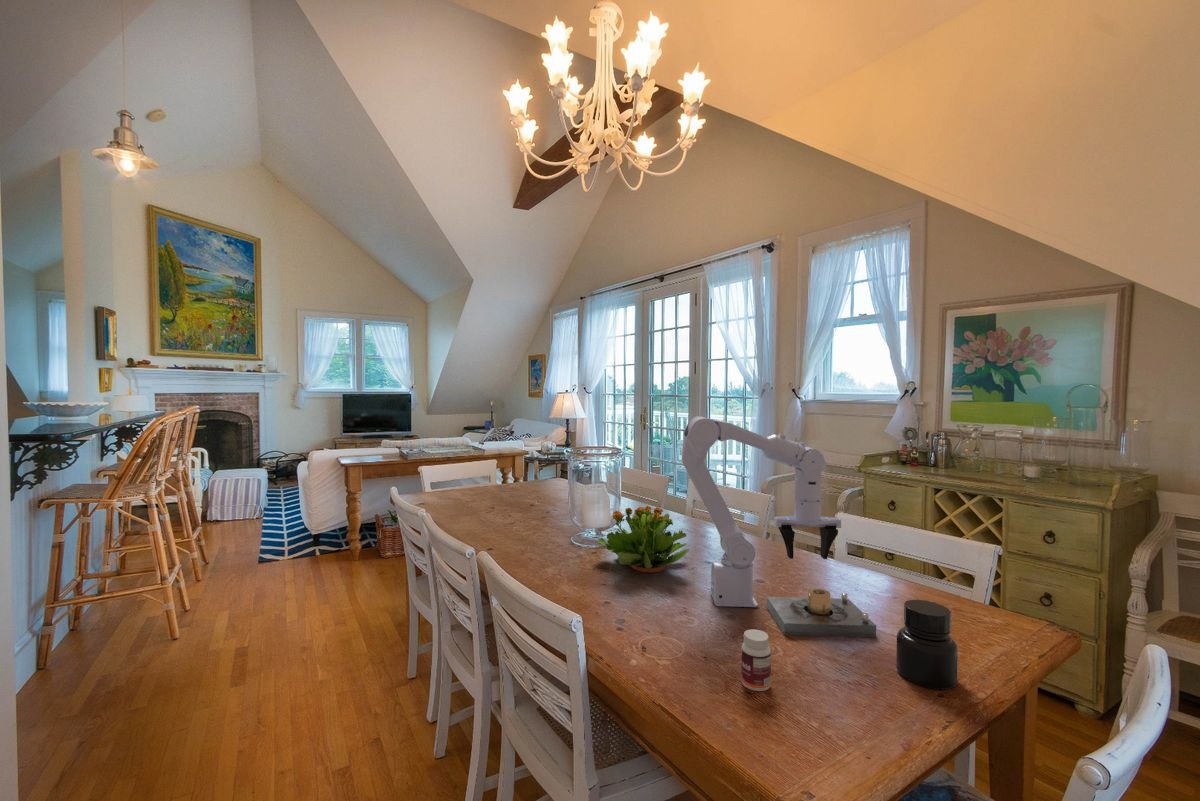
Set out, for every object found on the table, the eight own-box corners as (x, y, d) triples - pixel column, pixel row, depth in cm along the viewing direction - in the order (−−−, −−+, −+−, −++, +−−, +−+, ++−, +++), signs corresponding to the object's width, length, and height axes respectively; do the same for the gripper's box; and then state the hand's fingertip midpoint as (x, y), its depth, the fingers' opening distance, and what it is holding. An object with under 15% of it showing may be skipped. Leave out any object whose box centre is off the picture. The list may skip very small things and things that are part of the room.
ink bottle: (972, 686, 86) (973, 615, 85) (934, 697, 83) (936, 623, 82) (918, 657, 95) (919, 593, 94) (882, 666, 92) (883, 600, 91)
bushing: (810, 626, 107) (810, 595, 107) (805, 617, 111) (805, 587, 111) (832, 627, 106) (833, 596, 106) (826, 618, 111) (826, 588, 111)
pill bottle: (736, 676, 88) (737, 628, 88) (763, 675, 89) (764, 627, 89) (747, 692, 84) (747, 642, 83) (775, 691, 84) (775, 641, 84)
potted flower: (670, 549, 157) (670, 493, 157) (713, 576, 135) (714, 510, 135) (594, 559, 149) (594, 499, 148) (626, 589, 126) (627, 519, 126)
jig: (784, 635, 103) (784, 615, 103) (766, 607, 116) (767, 589, 116) (876, 637, 102) (876, 617, 102) (848, 609, 115) (848, 591, 115)
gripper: (780, 502, 115) (780, 562, 115) (847, 503, 114) (846, 564, 114) (772, 496, 122) (771, 552, 122) (834, 496, 121) (833, 553, 121)
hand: (807, 557), depth 119 cm, fingers open, 7 cm apart
